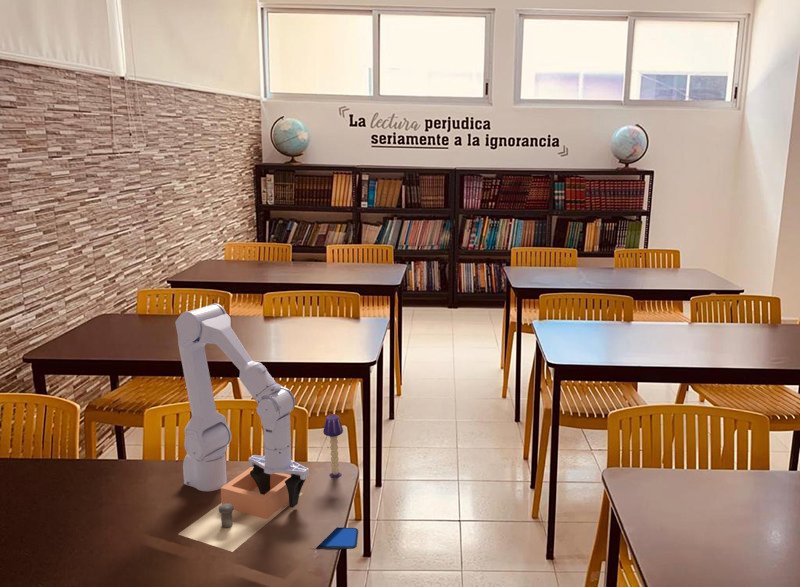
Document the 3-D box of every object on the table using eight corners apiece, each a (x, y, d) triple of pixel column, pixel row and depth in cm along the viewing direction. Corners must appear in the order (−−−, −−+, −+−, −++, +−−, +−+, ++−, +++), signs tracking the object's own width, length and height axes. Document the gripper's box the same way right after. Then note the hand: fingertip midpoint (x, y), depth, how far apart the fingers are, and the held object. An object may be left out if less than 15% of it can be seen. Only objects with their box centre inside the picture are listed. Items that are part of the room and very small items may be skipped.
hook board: (178, 540, 140) (176, 515, 139) (253, 486, 162) (252, 464, 161) (232, 558, 134) (231, 532, 133) (303, 499, 156) (302, 476, 155)
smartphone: (356, 547, 137) (282, 546, 137) (356, 551, 137) (282, 550, 137) (358, 527, 144) (287, 526, 144) (358, 531, 145) (287, 529, 145)
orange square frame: (221, 506, 150) (220, 487, 149) (255, 482, 161) (254, 464, 160) (266, 519, 145) (265, 500, 144) (298, 493, 156) (297, 475, 155)
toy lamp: (339, 487, 162) (338, 421, 158) (321, 484, 163) (319, 418, 159) (347, 478, 166) (346, 413, 162) (329, 475, 167) (328, 411, 164)
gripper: (238, 445, 147) (241, 502, 150) (295, 458, 141) (297, 518, 144) (258, 432, 153) (261, 487, 156) (313, 445, 147) (315, 502, 150)
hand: (279, 501), depth 151 cm, fingers open, 7 cm apart
